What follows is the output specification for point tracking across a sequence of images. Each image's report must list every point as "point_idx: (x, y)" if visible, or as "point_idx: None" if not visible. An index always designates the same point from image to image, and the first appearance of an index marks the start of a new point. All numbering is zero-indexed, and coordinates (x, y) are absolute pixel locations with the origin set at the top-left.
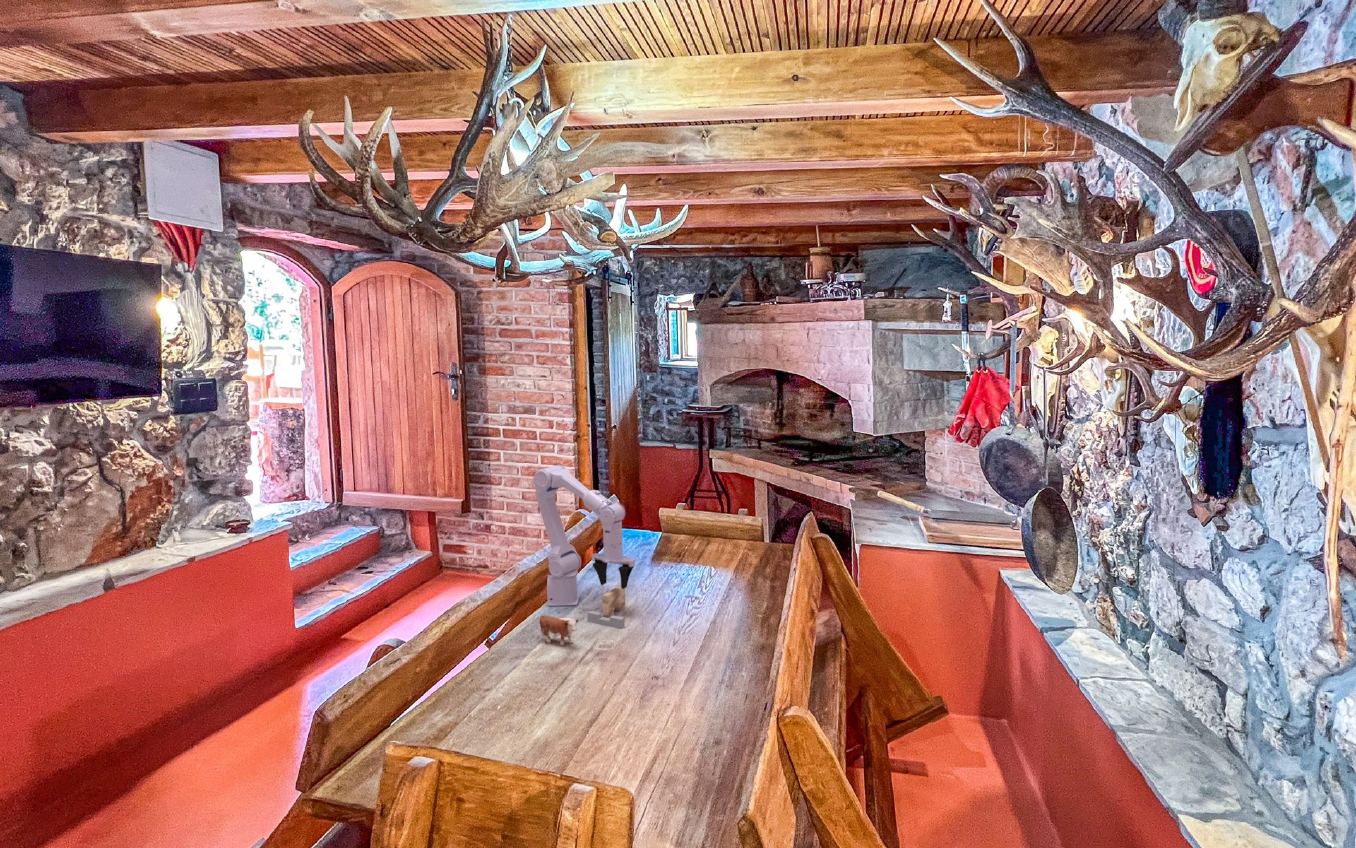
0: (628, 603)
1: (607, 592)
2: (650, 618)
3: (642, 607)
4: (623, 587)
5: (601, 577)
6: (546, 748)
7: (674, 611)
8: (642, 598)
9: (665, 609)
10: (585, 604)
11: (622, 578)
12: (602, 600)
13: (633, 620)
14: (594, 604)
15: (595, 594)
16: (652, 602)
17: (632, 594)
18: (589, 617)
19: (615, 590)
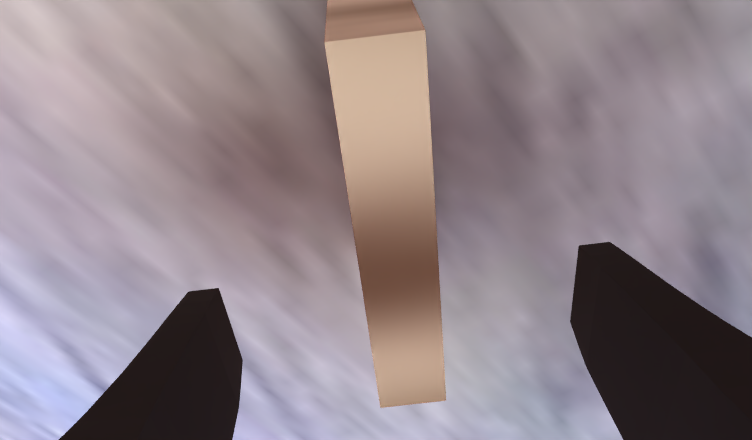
0: None
1: (426, 166)
2: (17, 198)
3: (257, 319)
4: (176, 307)
5: (645, 327)
6: None
7: (15, 376)
8: (375, 416)
9: (95, 370)
10: (731, 130)
11: (101, 425)
12: (413, 8)
13: (86, 80)
14: (649, 172)
15: (734, 316)
16: (268, 404)
17: (478, 427)
18: None
19: (379, 273)
